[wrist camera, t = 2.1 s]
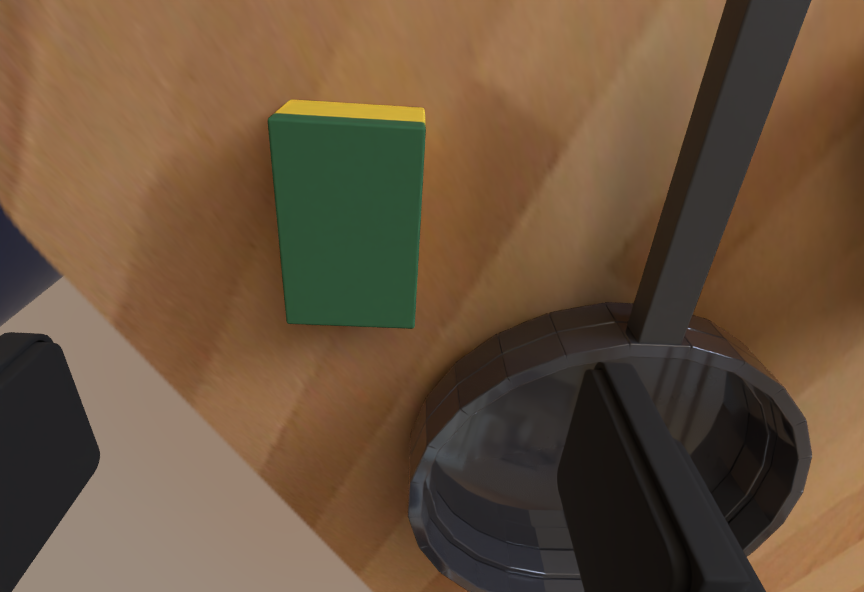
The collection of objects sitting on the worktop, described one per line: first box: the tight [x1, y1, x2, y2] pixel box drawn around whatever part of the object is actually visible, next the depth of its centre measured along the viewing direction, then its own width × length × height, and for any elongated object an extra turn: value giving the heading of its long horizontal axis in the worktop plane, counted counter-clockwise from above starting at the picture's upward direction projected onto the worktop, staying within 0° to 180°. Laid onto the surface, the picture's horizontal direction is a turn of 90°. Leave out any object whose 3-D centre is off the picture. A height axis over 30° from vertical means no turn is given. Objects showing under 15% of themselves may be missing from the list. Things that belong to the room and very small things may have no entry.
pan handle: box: [627, 0, 811, 344], centre depth 16 cm, size 2×11×1 cm, turn 177°
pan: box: [408, 302, 812, 592], centre depth 24 cm, size 17×17×4 cm
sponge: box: [268, 100, 426, 329], centre depth 18 cm, size 4×7×3 cm, turn 176°
